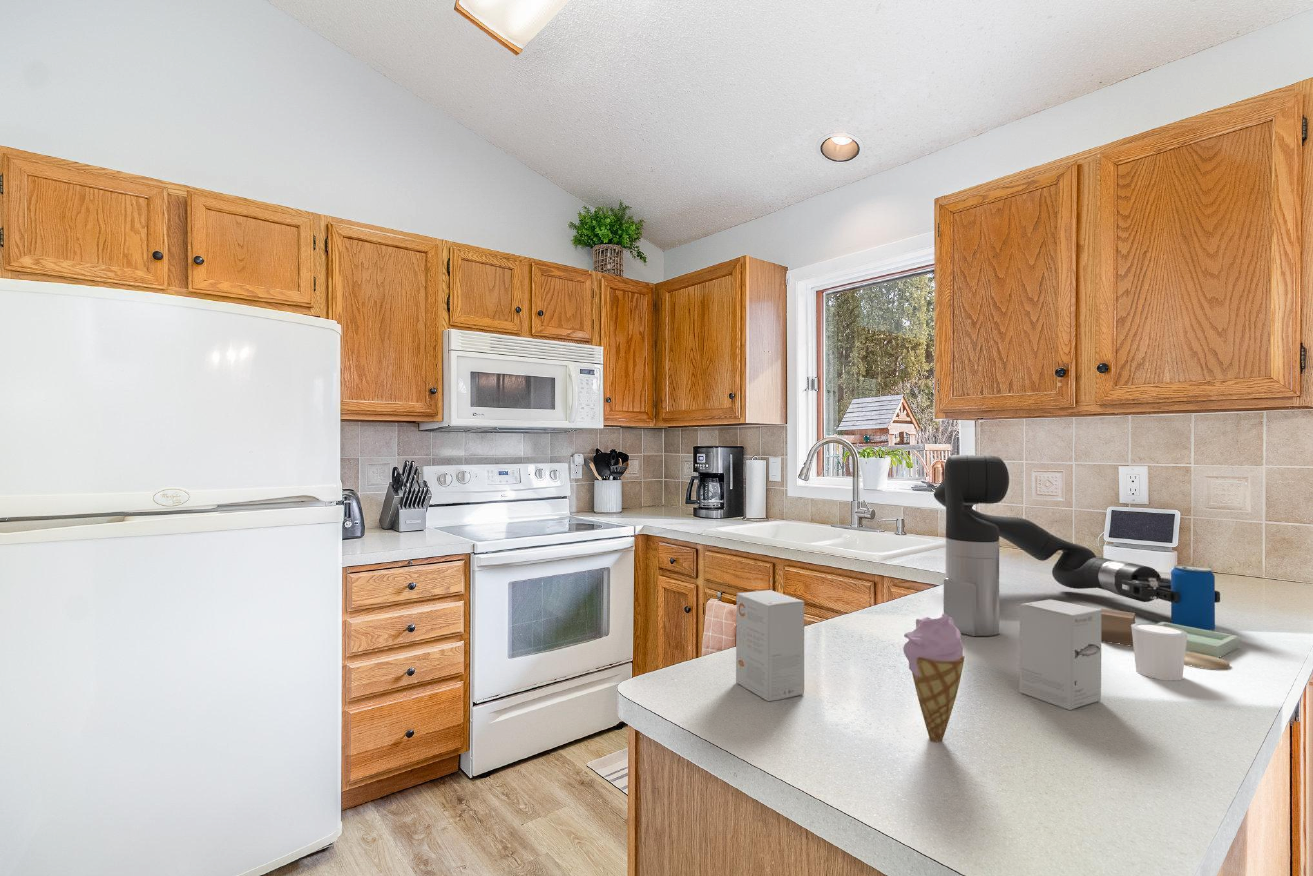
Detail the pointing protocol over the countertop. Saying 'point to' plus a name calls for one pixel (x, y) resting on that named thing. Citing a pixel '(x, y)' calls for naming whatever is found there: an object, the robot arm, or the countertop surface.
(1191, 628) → the tray
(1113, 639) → the walnut block
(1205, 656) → the cork coaster
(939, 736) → the ice cream cone
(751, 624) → the small box
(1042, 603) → the supplement box
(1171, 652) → the white cup
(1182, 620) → the beverage can
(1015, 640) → the countertop surface
